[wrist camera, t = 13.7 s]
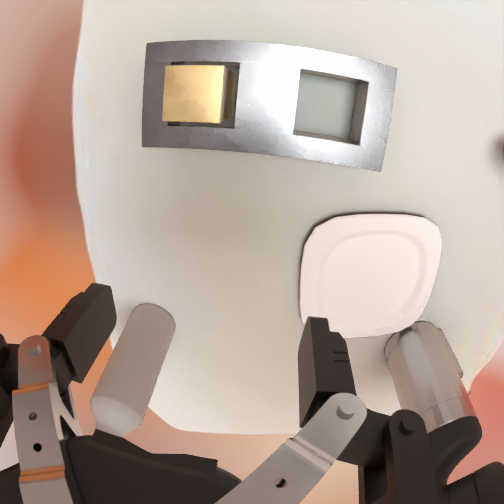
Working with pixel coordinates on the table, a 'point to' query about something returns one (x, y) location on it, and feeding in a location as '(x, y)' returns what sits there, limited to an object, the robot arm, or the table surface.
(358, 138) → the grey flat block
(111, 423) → the bottle
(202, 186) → the table surface
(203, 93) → the brass peg
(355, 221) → the plate
